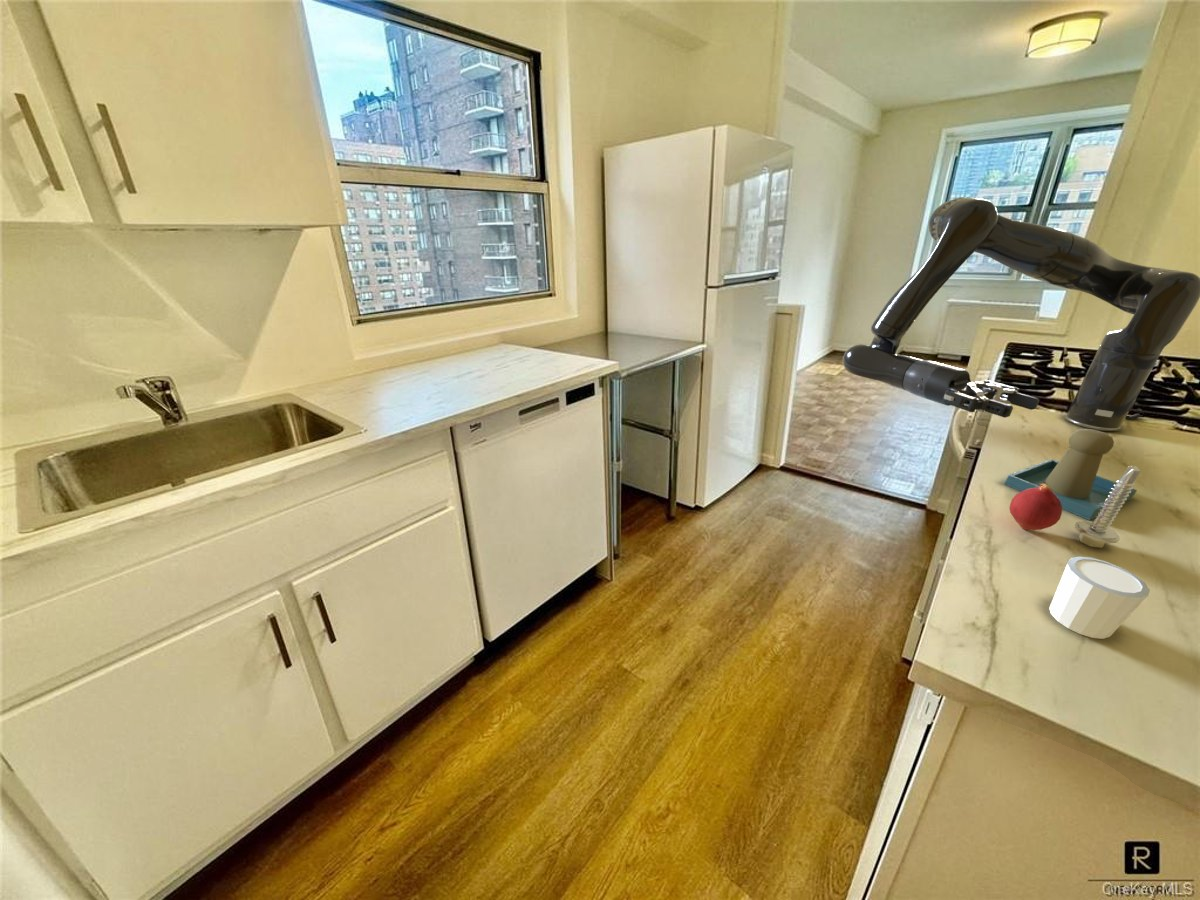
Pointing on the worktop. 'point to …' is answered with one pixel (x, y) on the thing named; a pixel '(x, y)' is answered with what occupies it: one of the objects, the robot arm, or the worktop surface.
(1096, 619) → the white faceted cylinder
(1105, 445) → the cork
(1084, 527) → the screw
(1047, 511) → the onion
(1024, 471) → the tray
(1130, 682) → the worktop surface
